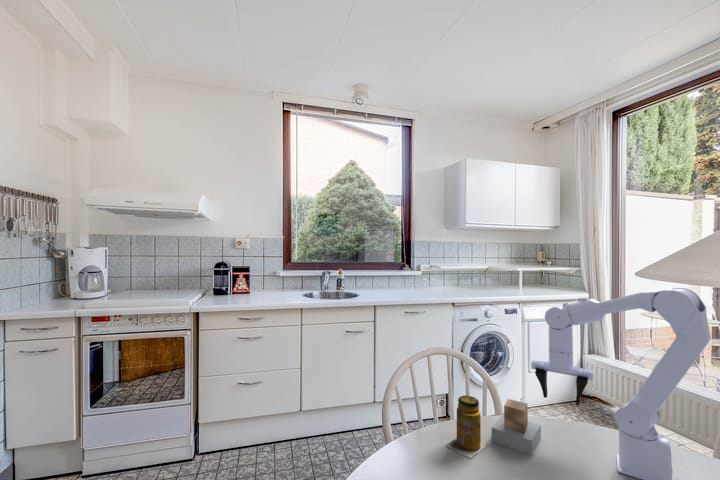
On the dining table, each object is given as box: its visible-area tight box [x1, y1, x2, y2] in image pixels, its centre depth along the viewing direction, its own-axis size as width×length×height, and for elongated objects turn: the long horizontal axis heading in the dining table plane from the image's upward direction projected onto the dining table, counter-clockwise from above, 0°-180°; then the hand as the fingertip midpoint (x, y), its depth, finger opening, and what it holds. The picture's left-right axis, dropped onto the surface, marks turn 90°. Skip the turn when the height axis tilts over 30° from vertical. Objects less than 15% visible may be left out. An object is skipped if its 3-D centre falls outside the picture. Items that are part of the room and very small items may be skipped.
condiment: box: [445, 395, 488, 459], centre depth 90 cm, size 7×8×12 cm
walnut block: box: [503, 398, 529, 434], centre depth 92 cm, size 5×5×6 cm
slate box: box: [491, 413, 542, 456], centre depth 93 cm, size 10×10×4 cm
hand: (561, 400), depth 93 cm, fingers open, 7 cm apart
